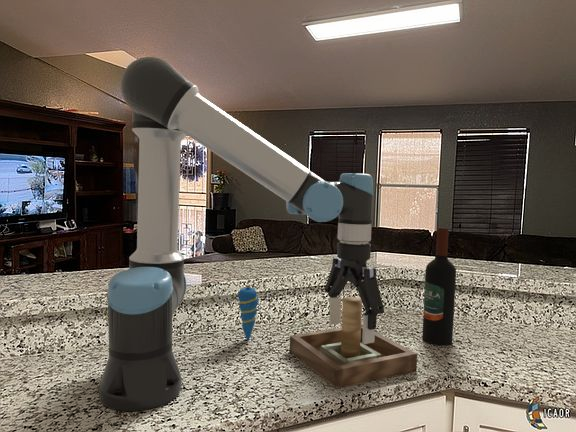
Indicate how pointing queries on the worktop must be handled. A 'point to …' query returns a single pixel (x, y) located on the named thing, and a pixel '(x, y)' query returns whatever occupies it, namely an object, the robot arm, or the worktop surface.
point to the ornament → (248, 309)
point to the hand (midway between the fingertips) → (350, 332)
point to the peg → (351, 327)
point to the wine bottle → (439, 295)
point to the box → (347, 372)
